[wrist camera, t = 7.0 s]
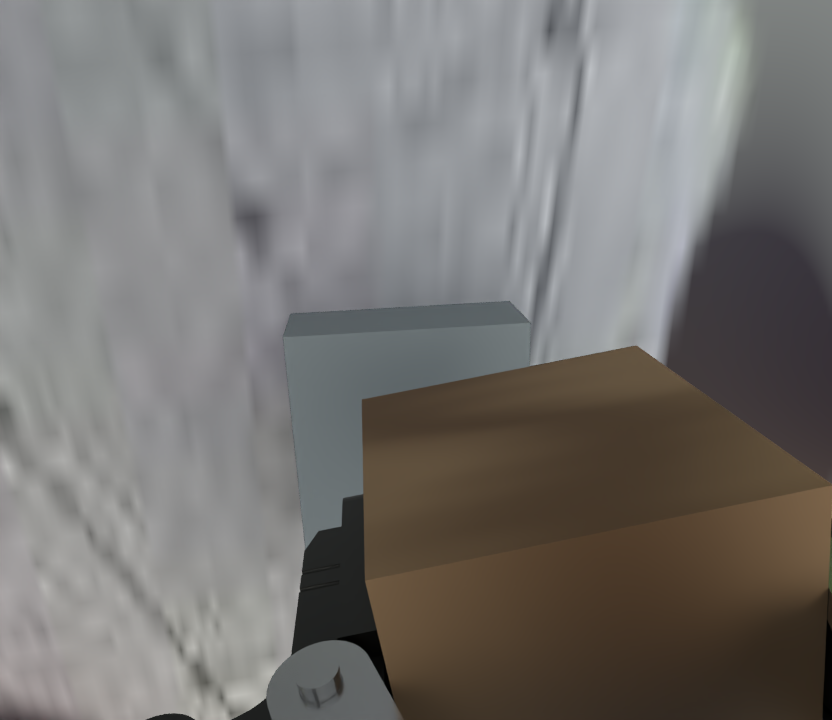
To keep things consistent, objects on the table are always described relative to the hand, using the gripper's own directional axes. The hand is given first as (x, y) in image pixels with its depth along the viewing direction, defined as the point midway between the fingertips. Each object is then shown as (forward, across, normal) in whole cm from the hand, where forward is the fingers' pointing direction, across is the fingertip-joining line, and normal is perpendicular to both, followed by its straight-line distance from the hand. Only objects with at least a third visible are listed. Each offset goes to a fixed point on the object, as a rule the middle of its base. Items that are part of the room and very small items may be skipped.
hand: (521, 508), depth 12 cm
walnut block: (0, 0, 0) cm, 0 cm away
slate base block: (+19, +2, +5) cm, 20 cm away
